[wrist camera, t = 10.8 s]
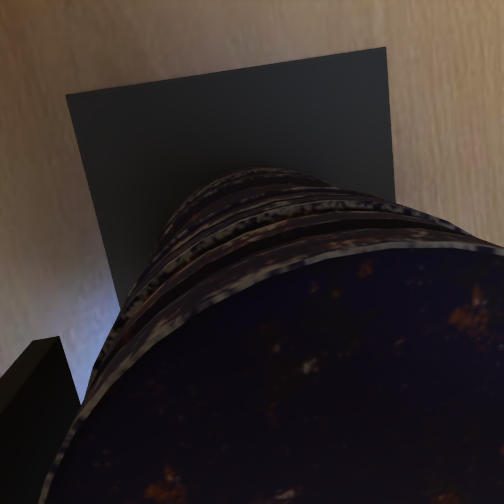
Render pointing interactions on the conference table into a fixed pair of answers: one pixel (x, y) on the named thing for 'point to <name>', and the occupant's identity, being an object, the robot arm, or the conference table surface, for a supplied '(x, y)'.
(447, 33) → the conference table surface
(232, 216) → the rusty barrel
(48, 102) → the conference table surface
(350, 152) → the mat
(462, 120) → the conference table surface
